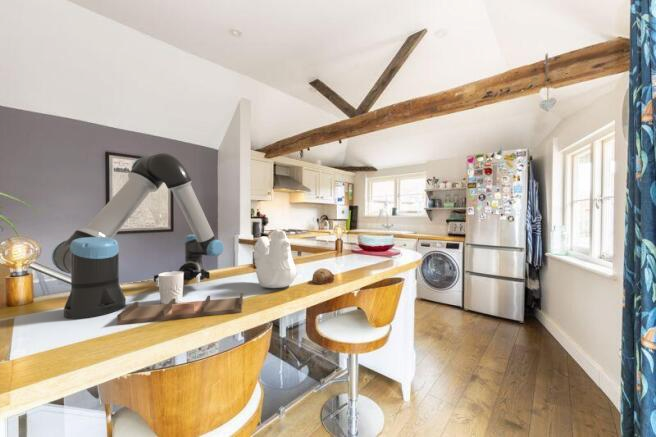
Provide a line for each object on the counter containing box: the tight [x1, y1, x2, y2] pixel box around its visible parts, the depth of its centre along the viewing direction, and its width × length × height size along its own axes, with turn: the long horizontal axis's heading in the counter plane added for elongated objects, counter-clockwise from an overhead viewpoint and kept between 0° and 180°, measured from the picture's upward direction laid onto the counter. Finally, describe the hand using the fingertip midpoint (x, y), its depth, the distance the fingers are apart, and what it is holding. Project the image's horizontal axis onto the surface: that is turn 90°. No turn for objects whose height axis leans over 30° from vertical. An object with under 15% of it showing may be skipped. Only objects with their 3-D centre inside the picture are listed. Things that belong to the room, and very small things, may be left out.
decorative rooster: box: [252, 228, 298, 289], centre depth 117 cm, size 25×16×25 cm, turn 35°
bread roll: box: [311, 268, 335, 285], centre depth 122 cm, size 10×10×8 cm
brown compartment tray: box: [116, 292, 244, 326], centre depth 85 cm, size 33×12×4 cm, turn 106°
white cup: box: [157, 270, 185, 304], centre depth 95 cm, size 8×8×10 cm
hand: (177, 281), depth 100 cm, fingers open, 13 cm apart
